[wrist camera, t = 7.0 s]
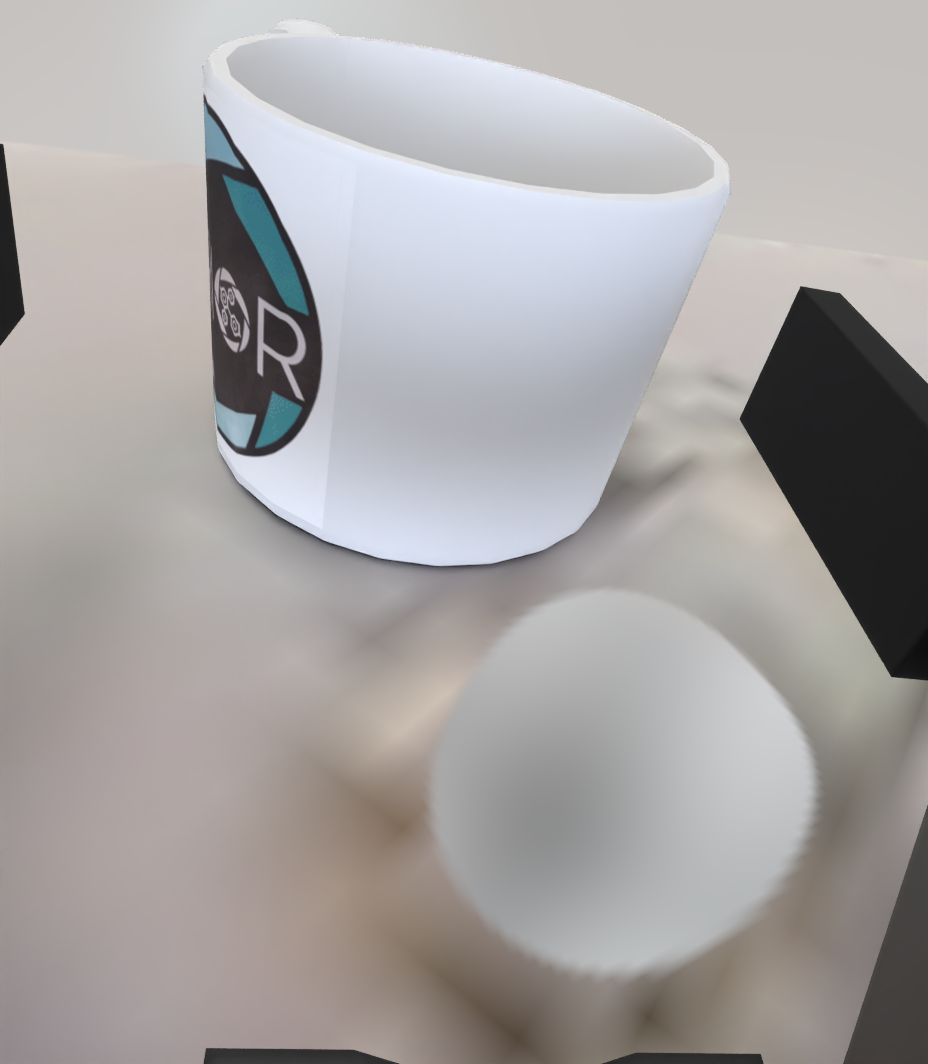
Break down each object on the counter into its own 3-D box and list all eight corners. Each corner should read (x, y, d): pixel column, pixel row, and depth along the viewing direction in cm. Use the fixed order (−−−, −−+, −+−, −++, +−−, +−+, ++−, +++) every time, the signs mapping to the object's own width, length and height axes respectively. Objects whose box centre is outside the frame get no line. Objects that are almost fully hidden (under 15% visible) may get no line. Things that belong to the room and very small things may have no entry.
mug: (694, 506, 22) (837, 191, 17) (352, 648, 16) (424, 221, 11) (398, 286, 29) (439, 19, 25) (84, 325, 23) (55, -21, 18)
